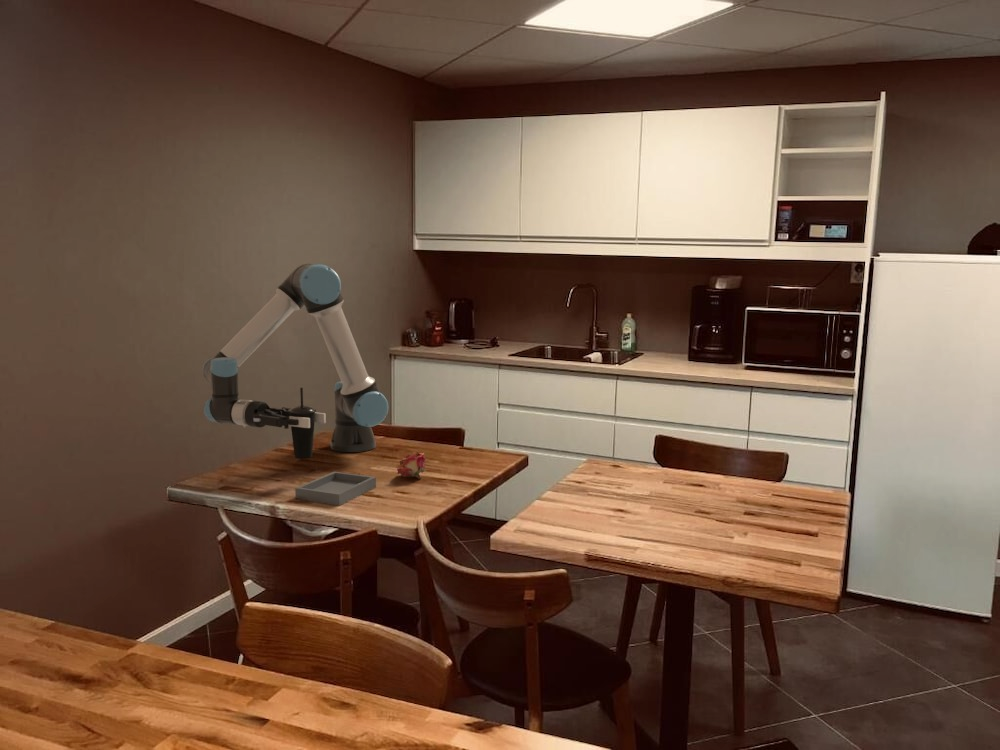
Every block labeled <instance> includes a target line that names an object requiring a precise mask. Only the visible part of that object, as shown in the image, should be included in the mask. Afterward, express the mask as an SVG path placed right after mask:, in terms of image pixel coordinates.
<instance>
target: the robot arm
mask: <svg viewBox="0 0 1000 750" xmlns="http://www.w3.org/2000/svg"><path fill="white" fill-rule="evenodd" d="M341 290H342V283H341V278H340V276H339V275H338V273H337V272H336V271H335V270H334V269H333V268H331V267H329V266H328V265H325V264H321V263H305V264H301V265H299V266H297V267H296V268H295V269H293V270H292V272H291V273H289V275H288V276H287V277H286V278H285V279H284V280H283V282H281V283H280V285H279V286H278V287H277V288H276V289H275V292H276V293H275V294H274V296H273V297H272V298H271V299H270V300H269V301H268V302H266V304H265V305H264V306H263V307H262V308H261V309H260V310H258V312H256V314H255V315H254V316H253V317H251V319H250V320H249V321H248V322H247V323H246V324H245V325H244V326H243V327H242V328H241V329H240V330H239V331H238V332H237V333H236V334H235V335H234V336H233V337H232V338H231V339H230V340H229V342H228V343H227V344H225V345H224V346H223V348H221V349H220V350H219V351H218V353H216V355H215V356H213V357H211V358H209V359H207V360H206V361H205V362H204V363H203V366H202V374H203V376H204V378H205V380H206V381H207V382H209V383H210V384H211V397H209V398H208V399H207V400H206V401H205V405H204V407H203V413H204V415H205V416H204V417H206V419H207V420H208V421H210V422H213V423H218V424H228V425H235V426H236V425H237V426H238V425H239V426H242V427H243V428H247V427H253V428H263V427H266V426H269V427H277V428H283V426H284V429H288V430H289V427H291V426H294V427H303V428H310V418H304V417H293V416H290V415H289V413H288V410H290V409H292V408H293V407H291V408H290V407H281V408H277V407H271V406H269V404H268V403H267V402H266V401H258V400H257V401H256V400H251V399H239V398H240V394H239V368H240V367H241V366H242V365H243V364H244V363H245V362H246V360H247V359H249V357H250V356H252V355H253V353H255V351H257V349H258V348H259V347H260V346H261V345H263V343H264V342H265V341H266V340H267V339H268V338H269V337H270V336H271V335H272V334H273V333H275V331H276V330H277V329H278V328H279V327H280V326H281V325H282V324H283V322H285V320H287V318H289V317H290V315H292V314H293V313H294V312H296V311H300V310H301V309H302V308H303V307H304V306H305V309H306V311H307V314H308V315H311V316H313V317H314V318H315V320H316V323H317V325H318V328H319V330H320V333H321V335H322V338H323V339H324V340H323V341H324V343H325V344H326V347H327V350H328V352H329V354H330V355H329V356H330V358H331V360H332V362H333V365H334V367H335V369H336V372H337V375H338V377H339V379H340V381H338V382H335V384H334V390H333V393H334V418H335V419H334V420H335V421H334V423H335V424H334V429H333V432H332V435H331V436H332V437H331V439H330V449H331V450H333V451H334V452H339V453H360V452H366V451H371V450H374V449H375V448H376V446H377V445H376V444H377V443H376V438H375V435H374V432H373V429H372V427H375V426H378V425H379V424H381V423H382V422H383V421H385V419H386V417H387V415H388V413H389V401H388V399H387V398H386V397H385V395H384V394H383V393H381V392H380V391H381V390H380V389H379V386H378V384H377V381H376V380H375V379H376V378H375V377H371V376H370V375H369V374H368V372H367V369H366V367H365V364H364V362H363V359H362V356H361V354H360V352H359V348H358V347H357V344H356V343H357V342H356V341H355V339H354V336H353V334H352V331H351V329H350V326H349V323H348V320H347V318H346V316H345V313H344V311H343V308H342V306H343V304H344V302H345V300H344V297H343V294H342V292H341ZM326 415H327V414H326V413H325V412H318V411H317V412H315V421H314V423H318V424H319V423H320V424H326V423H327V420H326V419H327V418H326V417H327V416H326Z"/></svg>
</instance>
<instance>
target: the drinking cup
mask: <svg viewBox="0 0 1000 750" xmlns="http://www.w3.org/2000/svg"><path fill="white" fill-rule="evenodd" d="M299 389H300V390H299V393H300V405H296V406H294V407H291V408H292V409H290V410H288V413H289V415H290V416H293V417H304V418H310V428H303V427H294V426H290V429H291V438H292V445H293V446H292V447H293V453H294V458H295V459H296V460H297V459H298V460H305V459H311V458H312V457H313V450H314V449H313V447H314V436H315V422H314V421H315V412H316V411H317V409H316V408H314V407H312V406H309V405H305V404H304V392H303V391H304V388H303V387H300V388H299Z"/></svg>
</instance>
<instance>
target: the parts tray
mask: <svg viewBox="0 0 1000 750" xmlns="http://www.w3.org/2000/svg"><path fill="white" fill-rule="evenodd" d="M376 477H377V476H371V475H363V474H355V473H347V472H341V471H340V472H339V471H332V472H330V473H328V474H325V475H323V476H320V477H318V478H316V479H314V480H312V481H311V480H310V481H309V482H307V483H303V484H302V485H299V486H297V487H295V488H294V491H295V499H296V498H298V499H297V500H300V499H303V500H302V501H306V500H309V501H308V502H313V501H316V502H315V503H319V502H320V504H326V503H327V504H328V505H331V506H333V505H334V506H341V505H344V504H345V503H347V502H350V501H351V500H353V499H356V498H357V496H358V497H359V496H362V495H364V494H366V493H368V492H369V490H370V491H372V490H374V489H376V488H377V478H376ZM375 487H376V488H375ZM373 488H374V489H373ZM371 489H372V490H371ZM367 491H368V492H367ZM365 492H366V493H365Z"/></svg>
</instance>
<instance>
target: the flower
mask: <svg viewBox="0 0 1000 750" xmlns="http://www.w3.org/2000/svg"><path fill="white" fill-rule="evenodd" d="M424 455H425V452H423V453H422V452H421V453H419V451H413V452H412V453H411V454H407V455H406V456H405V457H404V458H401V459H400V460H399V466H401V467H397V469H396V470H397V474H398V475H399V474H400V475H401V476H402V478H409V477H413V476H415V477H417V479H418V480H420V479H422V478H421V476H420V473H422V474H423V473H425V472H426V471H427V468H425V467H426V466H425V463H426V456H424Z"/></svg>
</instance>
